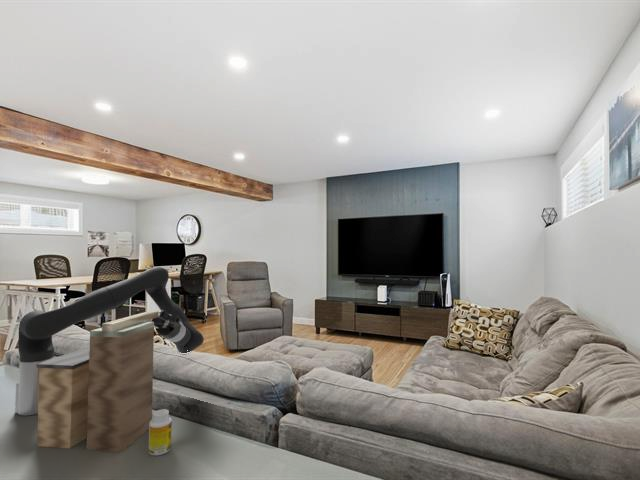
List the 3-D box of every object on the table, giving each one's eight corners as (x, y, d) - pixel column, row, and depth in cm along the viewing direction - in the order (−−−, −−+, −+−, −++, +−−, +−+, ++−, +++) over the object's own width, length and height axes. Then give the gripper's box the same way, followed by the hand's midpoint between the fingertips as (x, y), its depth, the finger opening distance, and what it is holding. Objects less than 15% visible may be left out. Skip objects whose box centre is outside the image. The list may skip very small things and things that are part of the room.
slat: (101, 331, 96) (102, 323, 96) (149, 316, 118) (149, 310, 118) (111, 331, 96) (112, 324, 96) (158, 317, 117) (158, 311, 118)
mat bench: (33, 446, 96) (36, 364, 97) (82, 418, 113) (84, 347, 114) (70, 449, 95) (72, 365, 96) (113, 420, 112) (115, 348, 113)
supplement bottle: (171, 453, 93) (172, 414, 94) (148, 458, 91) (149, 418, 91) (170, 443, 98) (171, 406, 99) (148, 448, 96) (149, 410, 96)
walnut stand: (86, 449, 95) (90, 330, 96) (121, 424, 109) (124, 321, 110) (120, 452, 94) (123, 331, 95) (151, 426, 108) (154, 321, 109)
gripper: (156, 318, 131) (132, 301, 118) (192, 319, 130) (172, 302, 116) (149, 338, 127) (124, 323, 114) (187, 339, 126) (166, 324, 112)
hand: (149, 313), depth 115 cm, fingers open, 8 cm apart
